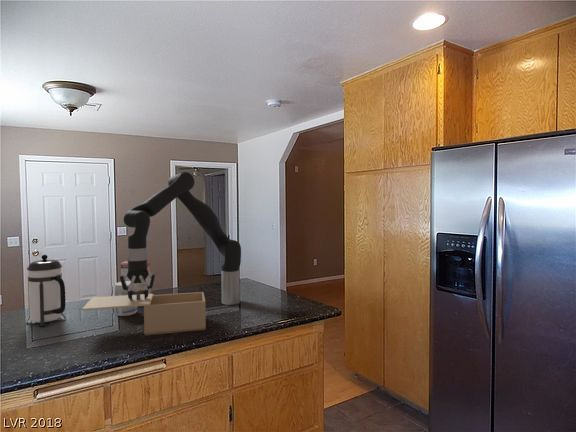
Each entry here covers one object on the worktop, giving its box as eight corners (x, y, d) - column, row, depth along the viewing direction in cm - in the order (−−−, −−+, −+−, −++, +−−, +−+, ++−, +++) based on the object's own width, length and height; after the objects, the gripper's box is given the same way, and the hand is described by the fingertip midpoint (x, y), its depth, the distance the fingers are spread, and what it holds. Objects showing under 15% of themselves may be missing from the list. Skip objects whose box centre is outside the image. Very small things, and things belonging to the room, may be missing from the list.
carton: (203, 317, 170) (203, 291, 169) (205, 329, 155) (205, 301, 154) (148, 322, 163) (147, 295, 163) (144, 335, 148) (144, 305, 147)
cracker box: (151, 299, 201) (151, 260, 200) (146, 302, 195) (145, 262, 194) (127, 298, 202) (126, 260, 201) (121, 301, 196) (120, 262, 195)
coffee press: (18, 330, 153) (16, 258, 152) (33, 318, 169) (31, 252, 167) (65, 326, 158) (63, 256, 156) (76, 314, 173) (74, 251, 172)
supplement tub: (140, 310, 180) (140, 280, 179) (131, 317, 171) (130, 285, 170) (121, 310, 181) (121, 280, 180) (111, 316, 171) (110, 285, 170)
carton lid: (153, 294, 164) (153, 285, 163) (150, 305, 148) (149, 295, 148) (92, 298, 157) (91, 289, 157) (82, 310, 141) (81, 299, 141)
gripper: (156, 256, 159) (157, 295, 160) (120, 257, 155) (121, 297, 156) (155, 259, 152) (155, 300, 153) (117, 260, 148) (118, 302, 149)
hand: (138, 298), depth 154 cm, fingers closed on carton lid, 5 cm apart
